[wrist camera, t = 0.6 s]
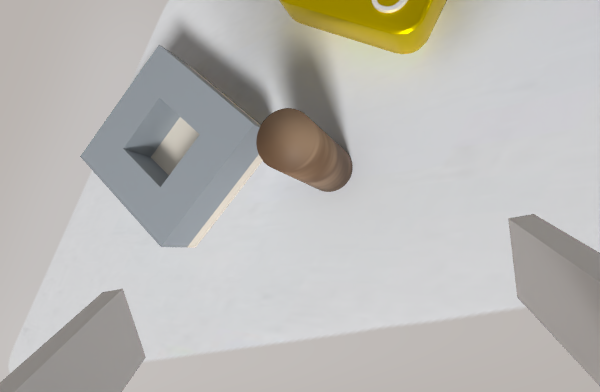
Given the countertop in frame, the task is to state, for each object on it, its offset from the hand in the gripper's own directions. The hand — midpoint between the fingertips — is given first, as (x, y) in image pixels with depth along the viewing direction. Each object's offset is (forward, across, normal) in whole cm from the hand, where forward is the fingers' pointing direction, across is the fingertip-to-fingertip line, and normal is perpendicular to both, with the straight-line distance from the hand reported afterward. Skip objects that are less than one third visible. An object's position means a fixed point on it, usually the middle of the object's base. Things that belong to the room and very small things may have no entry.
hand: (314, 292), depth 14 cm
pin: (+26, 0, 0) cm, 26 cm away
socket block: (+31, -14, +3) cm, 34 cm away
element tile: (+33, +9, +17) cm, 38 cm away
